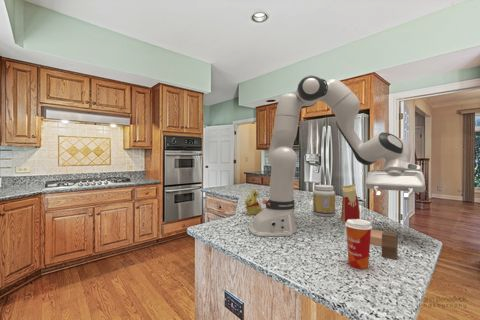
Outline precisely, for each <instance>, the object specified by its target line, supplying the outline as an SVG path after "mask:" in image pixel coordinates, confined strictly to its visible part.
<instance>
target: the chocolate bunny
mask: <svg viewBox="0 0 480 320" xmlns="http://www.w3.org/2000/svg"><path fill="white" fill-rule="evenodd" d="M258 196H259V191H257V190H256V189H254V188H253V189H252V190H251V192H250V194H249V195H248V196H247V197H246V198H245V200H244V203H245V205H246V206H245V209H246V211H247V213H246V215H247V216H256V215H257V214H258V213H260V212H261V211H262V210H263V209H262V206H261V204H260V202H259V201H258V200H257V198H258Z"/></svg>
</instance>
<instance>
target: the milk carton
mask: <svg viewBox="0 0 480 320" xmlns="http://www.w3.org/2000/svg"><path fill="white" fill-rule="evenodd" d="M340 187H341V189H342V190H343V191H342V199H341V201H342V202H341V215H340V222H341V223H343V224H346V223H347V220H348V219H350V220H351V219H355V220H356V219H361V209H360V208H361V207H360V201H359V197H358V195H357V190H356V183H353V184H349V185H341V186H340Z"/></svg>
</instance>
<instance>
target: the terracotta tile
mask: <svg viewBox="0 0 480 320" xmlns="http://www.w3.org/2000/svg"><path fill="white" fill-rule="evenodd" d="M384 231H385V230H384ZM384 231H383V230H378V229H373V228H372V229H371V236H370V245H374V246H378V247H382V233H383V232H384Z"/></svg>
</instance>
